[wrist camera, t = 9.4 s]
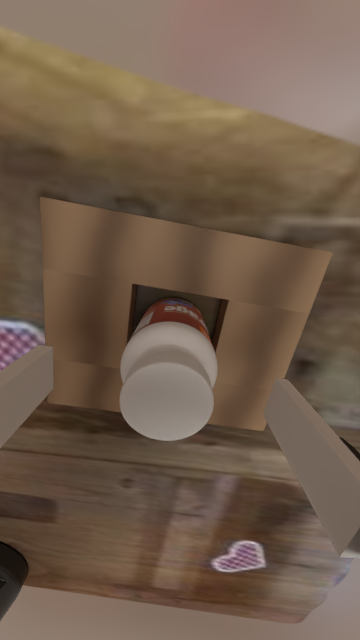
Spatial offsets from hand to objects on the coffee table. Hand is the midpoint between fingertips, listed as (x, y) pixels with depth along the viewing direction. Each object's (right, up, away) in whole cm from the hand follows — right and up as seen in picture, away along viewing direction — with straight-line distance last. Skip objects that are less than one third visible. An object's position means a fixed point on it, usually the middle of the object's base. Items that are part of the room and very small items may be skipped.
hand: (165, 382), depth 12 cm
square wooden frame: (0, +3, +8) cm, 9 cm away
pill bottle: (0, +3, +8) cm, 9 cm away
